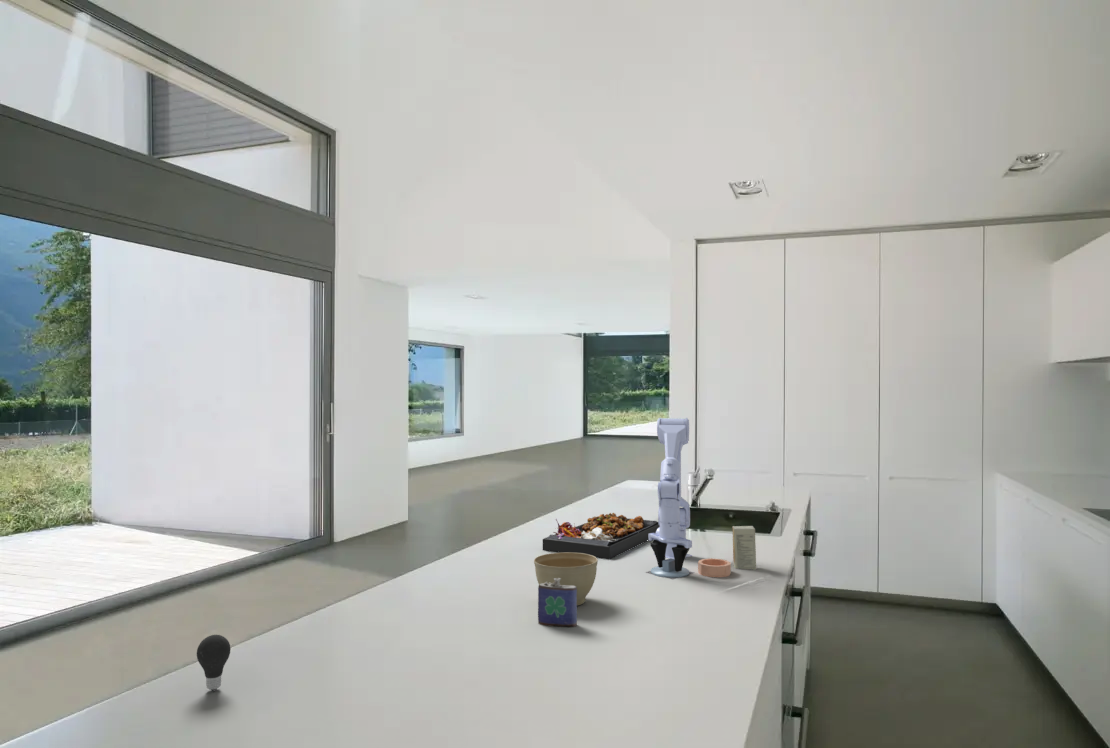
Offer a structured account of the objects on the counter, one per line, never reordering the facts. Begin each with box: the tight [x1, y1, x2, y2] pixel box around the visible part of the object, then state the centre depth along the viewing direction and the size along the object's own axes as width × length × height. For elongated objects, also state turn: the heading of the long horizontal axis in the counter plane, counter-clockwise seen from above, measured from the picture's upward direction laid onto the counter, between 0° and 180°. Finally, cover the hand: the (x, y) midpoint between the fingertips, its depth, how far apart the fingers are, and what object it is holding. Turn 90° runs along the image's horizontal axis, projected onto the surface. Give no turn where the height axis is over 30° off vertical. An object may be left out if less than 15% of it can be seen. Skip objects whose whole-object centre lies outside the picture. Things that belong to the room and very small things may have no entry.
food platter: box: [542, 512, 660, 560], centre depth 254 cm, size 45×25×10 cm, turn 150°
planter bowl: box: [533, 552, 599, 606], centre depth 185 cm, size 16×16×11 cm
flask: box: [537, 578, 578, 628], centre depth 168 cm, size 9×3×11 cm, turn 74°
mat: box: [644, 570, 695, 580], centre depth 211 cm, size 10×10×1 cm
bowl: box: [697, 557, 732, 578], centre depth 210 cm, size 9×9×3 cm
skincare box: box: [732, 525, 757, 571], centre depth 217 cm, size 6×4×12 cm
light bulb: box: [196, 634, 231, 692], centre depth 133 cm, size 6×6×10 cm
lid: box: [650, 558, 690, 579], centre depth 211 cm, size 11×11×4 cm
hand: (669, 568), depth 211 cm, fingers open, 6 cm apart
